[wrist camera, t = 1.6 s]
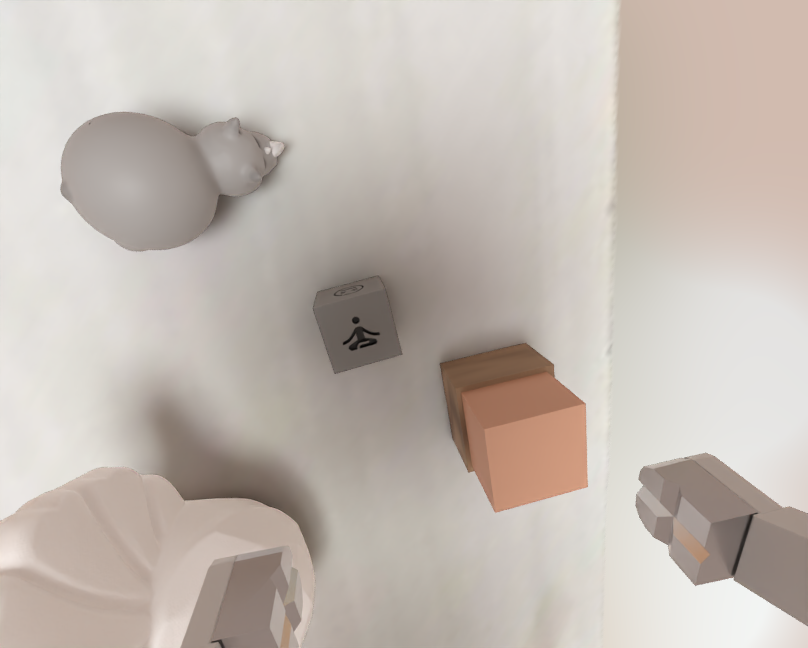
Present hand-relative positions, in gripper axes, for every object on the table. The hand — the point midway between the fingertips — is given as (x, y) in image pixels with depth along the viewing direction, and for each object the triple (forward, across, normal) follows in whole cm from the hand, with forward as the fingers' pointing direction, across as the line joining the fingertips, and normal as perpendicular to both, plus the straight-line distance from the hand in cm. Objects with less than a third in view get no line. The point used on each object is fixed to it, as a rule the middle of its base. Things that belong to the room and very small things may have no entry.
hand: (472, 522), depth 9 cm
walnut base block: (+23, +8, -12) cm, 27 cm away
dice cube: (+23, -2, -3) cm, 24 cm away
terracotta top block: (+18, +8, -12) cm, 23 cm away
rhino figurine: (+24, -11, +8) cm, 28 cm away
